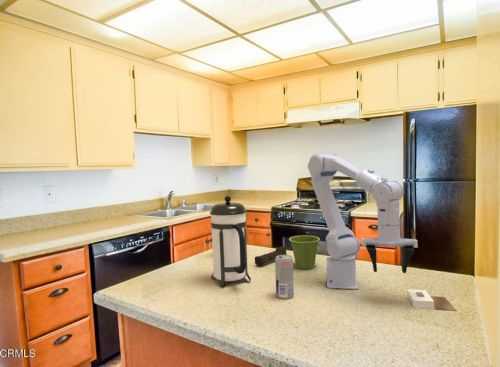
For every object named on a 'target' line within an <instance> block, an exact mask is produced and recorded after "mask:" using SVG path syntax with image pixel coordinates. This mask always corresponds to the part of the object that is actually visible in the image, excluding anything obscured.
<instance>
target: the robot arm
mask: <svg viewBox="0 0 500 367" xmlns="http://www.w3.org/2000/svg"><path fill="white" fill-rule="evenodd" d="M307 169H308V171H309V174H310V177H311V179H310V180H311V184H312V188H313V191H314V193H315V195H316V198H317V201H318V205H319V207H320V210H321V212H322V216H323V217H324V220H325V222H326V226H327V229H328V234H327V235H326V237H325V241H326V245H327V246H326V251H327V252H328V254H329V256H330V257H326V273H325V281H326V287H327V288H328V289H342V290H343V289H344V290H345V289H347V290H358V289H359V286H358V281H357V271H356V269H357V268H356V267H357V266H356V258H357V254H359V252H360V250H361V246H362V247H365V249H366V250H367V252H368V255H369V258H370V260H371V264H372V270H373V272H374V273H377V272H378V266H377V264H378V263H377V247H397V248H398V247H400V251H401V272H402V273H403V274H407V269H408V267H409V266H408V265H409V262H410V261H411V258H412V256H413V255H414V253H415V248H419V247H418V246H419V245H418V240H417V239H416V238H414V239H413V238H401V236H400V235H401V234H400V232H401V231H400V228H401V225H400V224H401V223H400V219H401V218H400V217H401V216H400V200H401V199H402V197H403V196H404V188H403V186H402V184H401V183H399V182H398V181H397V180H391V181H389V180H388V177H385V176H380V175H378V174H376V173H375V170H374V169H371V168H369V169H362V170H361V169H359V168H358V167H357V166H355V165H353V164H351V163H350V162H348V161H347V160H345V159H344V158H343V157H342V156H339V155H338V154H336V153H330V154H317V153H314V154H312V155H311V157H310V158H309V161H308V164H307ZM337 173H341V174H343V175H345V176H347V177H349V178H351V179H352V180H354V181H355V185H356V186H357V187H358V188H360V189H362V190H364V191H366V192H367V193H369V194H370V195H372V197H373V199H374V200H375V203H376V207H377V208H376V209H377V237H369V238H367V237H366V238H362V237H361V242H360V241H359V239H358V238H357V237H356V236H355V234H354V232H353V230H351V229H350V228H349V227H347V226H346V224H345V222H344V219H343V216H342V214H341V212H340V209H339V206H338V203H337V201H336V198H335V196H334V193H333V190H332V188H331V185H330V182H331V181H332V180H333V178H334V177H335V176H336V174H337Z"/></svg>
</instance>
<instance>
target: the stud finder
mask: <svg viewBox="0 0 500 367" xmlns="http://www.w3.org/2000/svg"><path fill="white" fill-rule="evenodd" d="M430 296H431V295H430V294H429V293H428V291H427V290H426V289H410V288H409V289H406V297H407V299H408V300H409V302H410V304H411V305H412V308H414V309H428V310H429V309H431V310H435V308H434V301H433V299H432V298H431V297H430Z"/></svg>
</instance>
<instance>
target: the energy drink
mask: <svg viewBox="0 0 500 367" xmlns="http://www.w3.org/2000/svg"><path fill="white" fill-rule="evenodd" d="M274 263H275V265H274V268H275V294H276V295H275V296H277V297H276V298H278V299H281V300H288V299H292V298H293V297H294V295H295V294H294V292H295V290H294V289H295V288H294V286H295V285H294V259H293V256H291V255H288V254H287V255H278V256H276V259H274Z"/></svg>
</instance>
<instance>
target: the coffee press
mask: <svg viewBox="0 0 500 367" xmlns="http://www.w3.org/2000/svg"><path fill="white" fill-rule="evenodd" d="M231 200H232V197H231V196H230V195H226V196H224V201H225V202H222V203H221V202H219V203H220V204H219V203H217V204H214V205H213V206H211V209H210V211H209V214H210V228H211V242H212V243H211V246H212V247H211V248H212V268H213V269H212V270H213V273H212V275H211V276H210V277H211V278H210V279H212V280H215V279H216V280H218V281H220V283H219V287H220V288H225V287H226V284H227V283H228V282H236V281H240V280H244V281H245V282H246V283H247V282H248V283H247V284H249V283H250V282H251V281H252V278H251V277H250V275H249V273H248V272H249V271H248V250H247V249H248V248H247V245H248V244H247V242H248V241H247V220H246V217H247V216H246V214H247V209H246V207H245V206H244V205H243V204H242V203H239V202H231ZM246 277H247V278H246ZM213 278H214V279H213Z"/></svg>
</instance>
